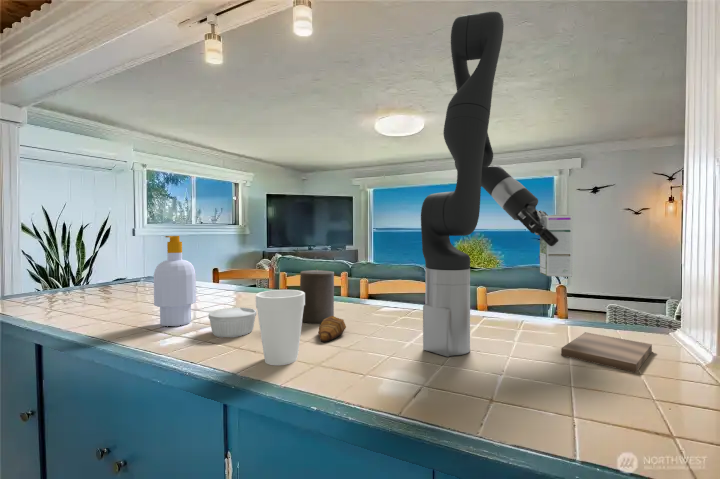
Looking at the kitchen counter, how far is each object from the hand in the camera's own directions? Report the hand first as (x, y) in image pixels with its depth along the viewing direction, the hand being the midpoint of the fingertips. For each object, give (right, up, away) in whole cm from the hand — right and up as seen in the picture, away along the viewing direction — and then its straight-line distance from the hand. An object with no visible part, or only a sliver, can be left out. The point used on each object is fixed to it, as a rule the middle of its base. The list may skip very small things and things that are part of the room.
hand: (561, 243), depth 84 cm
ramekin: (-80, -23, +4) cm, 83 cm away
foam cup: (-64, -23, -15) cm, 69 cm away
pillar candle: (-60, -22, +17) cm, 66 cm away
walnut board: (+2, -22, -12) cm, 25 cm away
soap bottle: (-99, -22, +13) cm, 102 cm away
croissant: (-55, -23, +2) cm, 59 cm away
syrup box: (-1, -8, +1) cm, 8 cm away
